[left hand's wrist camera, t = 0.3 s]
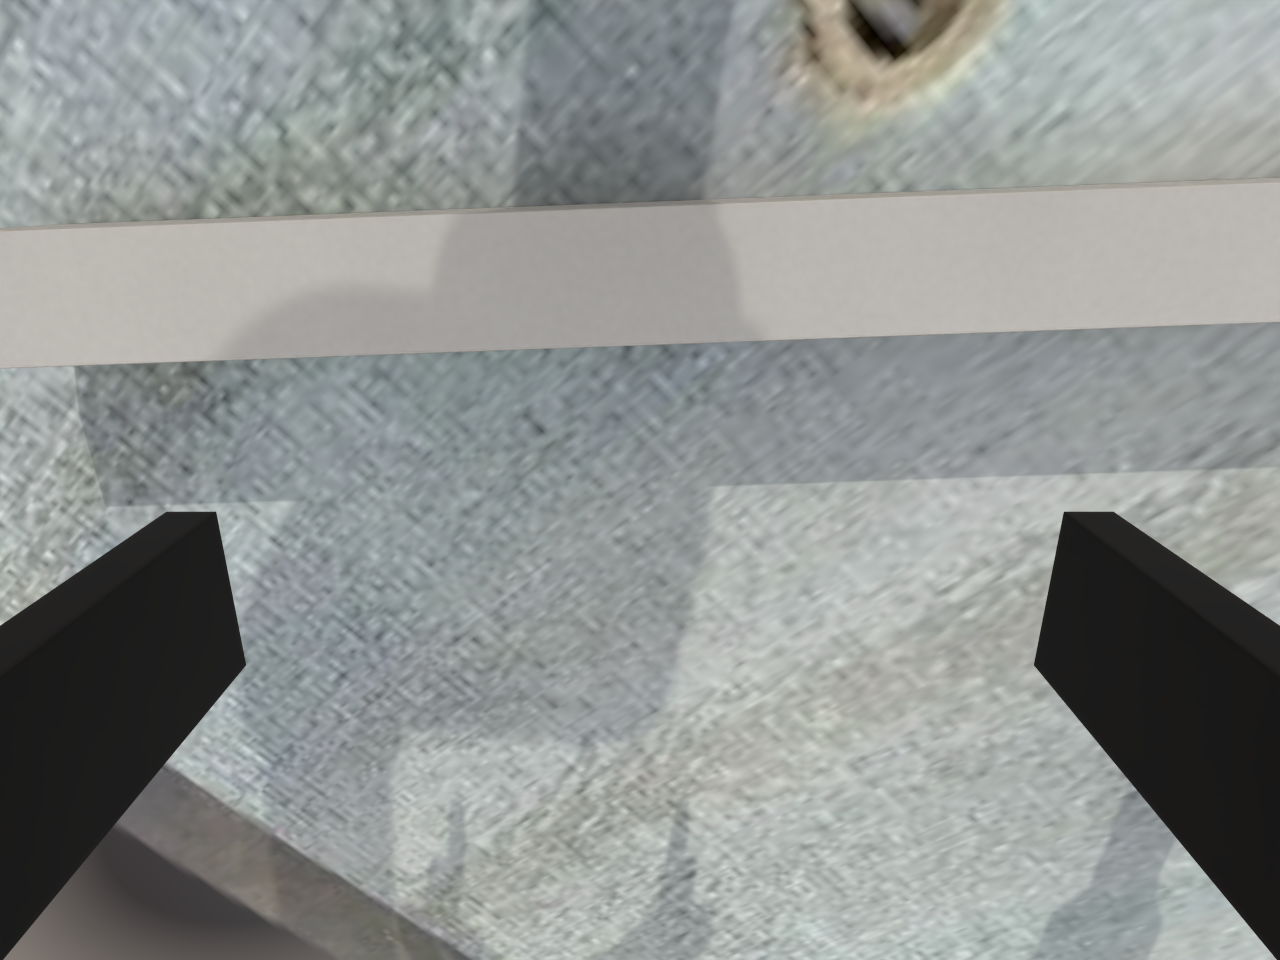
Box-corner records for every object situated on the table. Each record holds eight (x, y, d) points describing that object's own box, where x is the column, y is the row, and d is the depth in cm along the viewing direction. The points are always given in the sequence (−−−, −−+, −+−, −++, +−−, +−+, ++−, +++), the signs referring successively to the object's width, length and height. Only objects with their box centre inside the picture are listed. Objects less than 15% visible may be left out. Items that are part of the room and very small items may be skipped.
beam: (88, 333, 38) (-49, 370, 31) (58, 224, 37) (-96, 234, 29) (1522, 281, 38) (1747, 305, 30) (1560, 166, 36) (1810, 161, 28)
